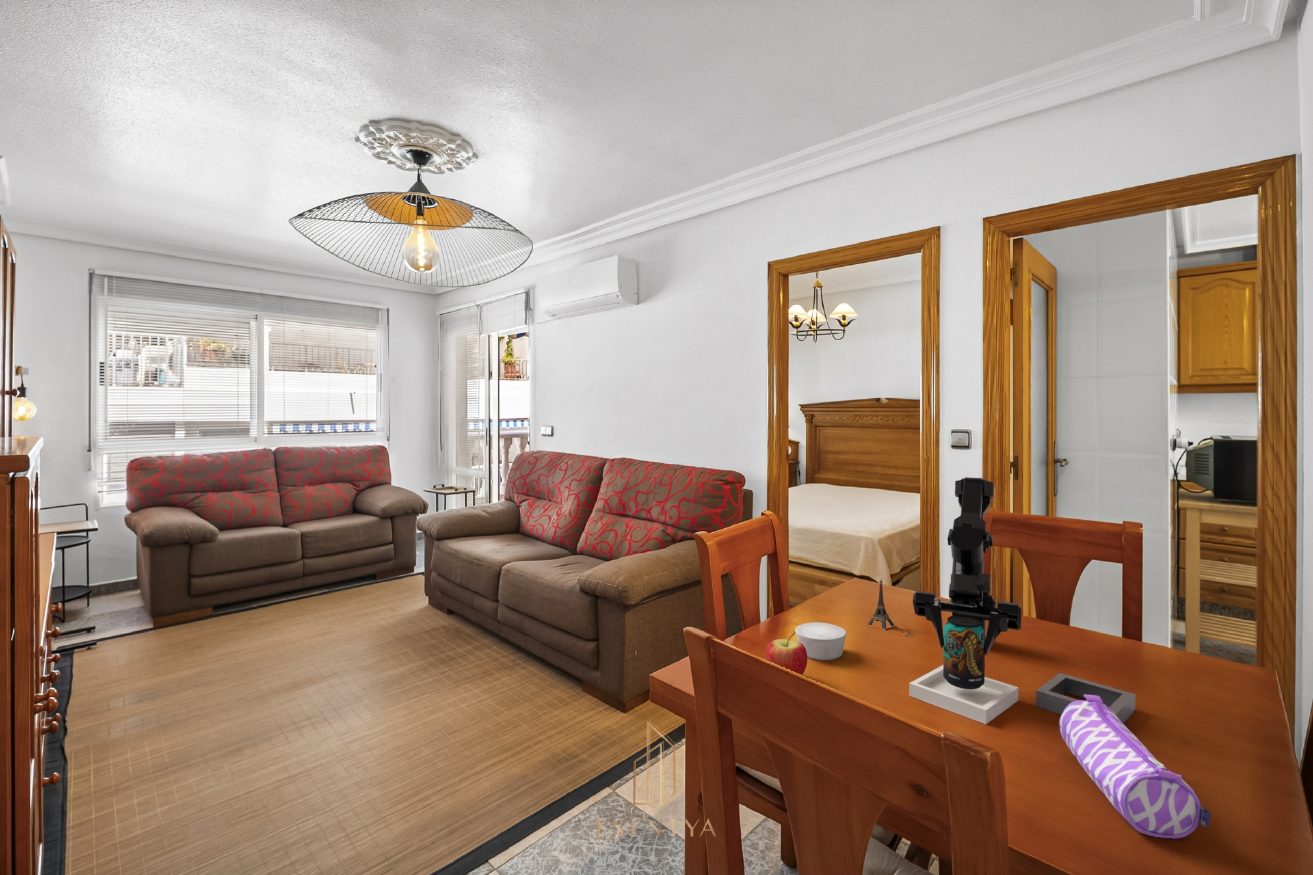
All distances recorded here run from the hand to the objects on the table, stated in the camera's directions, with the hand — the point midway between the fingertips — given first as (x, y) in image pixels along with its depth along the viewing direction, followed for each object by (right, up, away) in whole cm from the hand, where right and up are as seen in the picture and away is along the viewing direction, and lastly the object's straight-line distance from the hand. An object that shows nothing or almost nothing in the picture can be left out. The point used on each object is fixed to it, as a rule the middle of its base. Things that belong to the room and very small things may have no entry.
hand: (963, 650), depth 114 cm
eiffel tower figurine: (0, -9, +42) cm, 43 cm away
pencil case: (+8, -11, -28) cm, 31 cm away
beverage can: (+1, -7, +1) cm, 7 cm away
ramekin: (-20, -9, +24) cm, 33 cm away
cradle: (+1, -10, +1) cm, 10 cm away
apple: (-31, -10, +10) cm, 34 cm away
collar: (+21, -10, -3) cm, 23 cm away
